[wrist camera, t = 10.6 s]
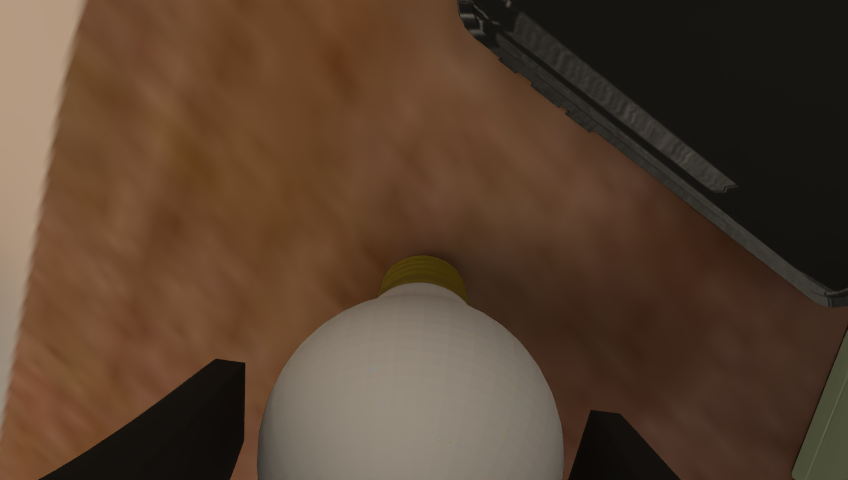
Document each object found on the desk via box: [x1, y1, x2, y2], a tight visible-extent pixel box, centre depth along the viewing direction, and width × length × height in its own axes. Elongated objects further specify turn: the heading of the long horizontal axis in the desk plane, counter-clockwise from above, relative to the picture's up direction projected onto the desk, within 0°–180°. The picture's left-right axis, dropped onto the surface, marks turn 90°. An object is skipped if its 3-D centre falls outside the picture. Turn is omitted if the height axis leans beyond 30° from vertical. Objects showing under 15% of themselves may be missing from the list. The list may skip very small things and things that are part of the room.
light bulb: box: [257, 255, 564, 480], centre depth 13 cm, size 6×6×10 cm
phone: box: [457, 0, 848, 307], centre depth 14 cm, size 8×1×15 cm
